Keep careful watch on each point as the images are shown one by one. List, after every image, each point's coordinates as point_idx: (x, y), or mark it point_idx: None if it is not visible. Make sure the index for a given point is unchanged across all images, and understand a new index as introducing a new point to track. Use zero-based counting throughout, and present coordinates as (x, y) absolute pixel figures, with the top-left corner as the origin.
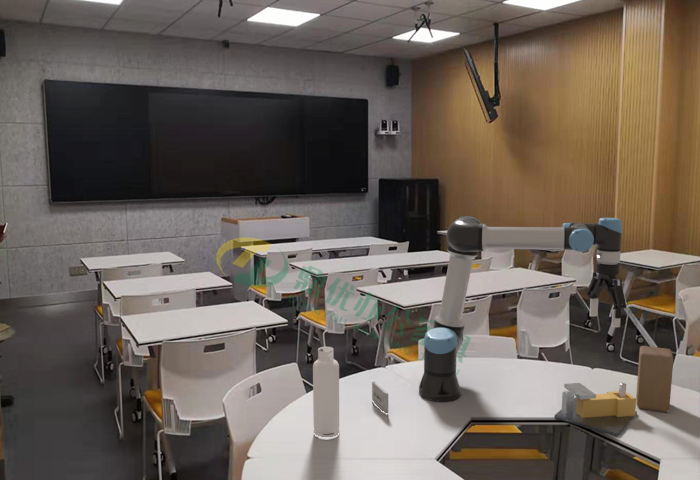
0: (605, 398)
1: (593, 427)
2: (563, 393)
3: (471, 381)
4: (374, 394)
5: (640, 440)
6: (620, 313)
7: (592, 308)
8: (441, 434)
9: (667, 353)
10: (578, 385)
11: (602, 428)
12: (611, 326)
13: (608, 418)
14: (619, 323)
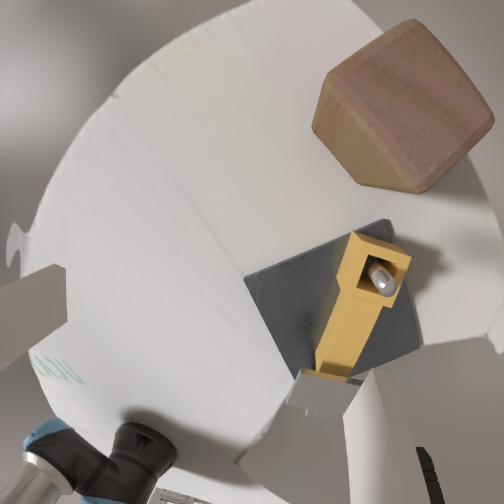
0: (367, 331)
1: (377, 365)
2: (309, 416)
3: (109, 385)
4: (161, 500)
5: (448, 316)
6: (433, 492)
7: (24, 341)
8: (262, 495)
9: (466, 91)
10: (312, 386)
11: (392, 356)
12: (343, 417)
13: None
14: (392, 397)
